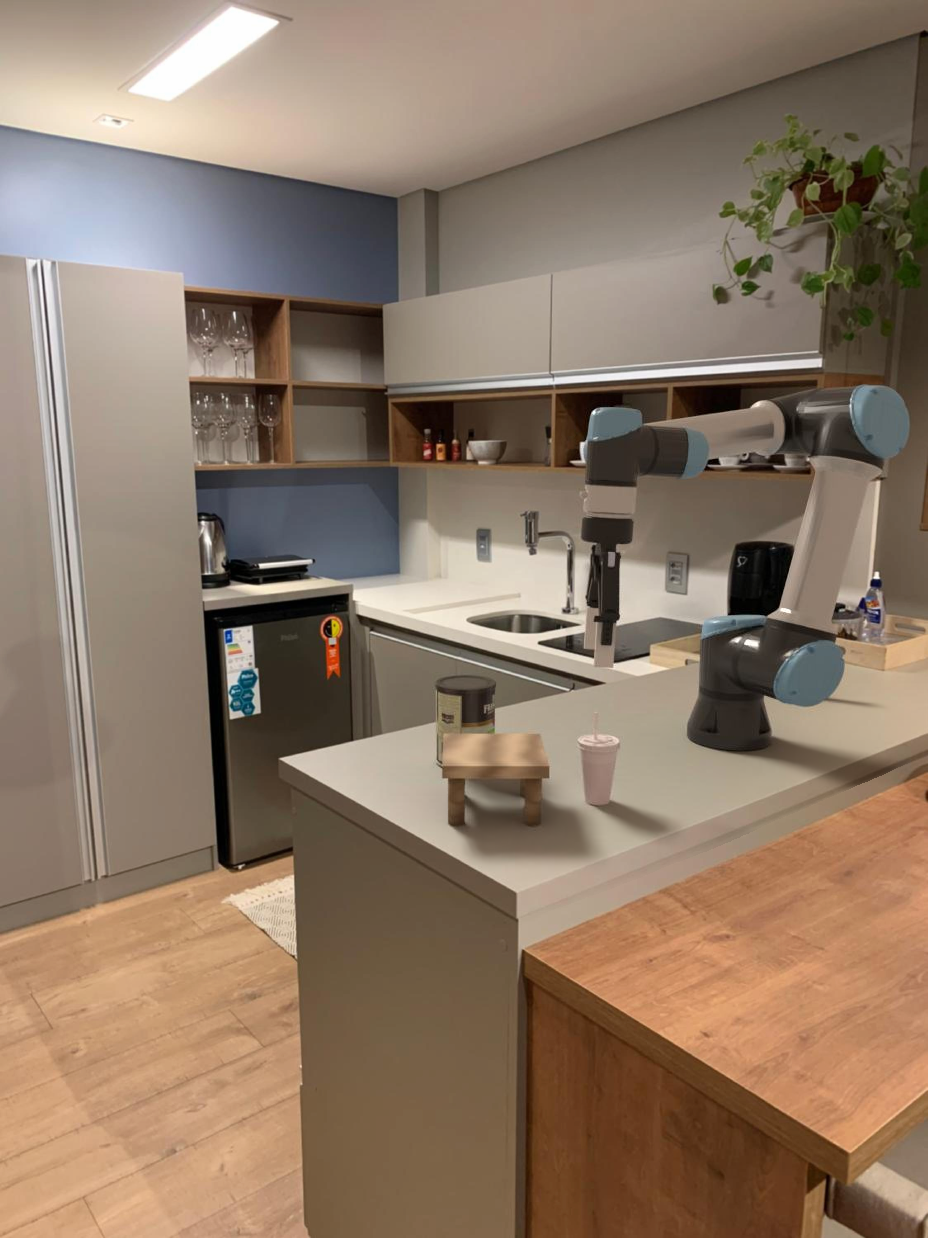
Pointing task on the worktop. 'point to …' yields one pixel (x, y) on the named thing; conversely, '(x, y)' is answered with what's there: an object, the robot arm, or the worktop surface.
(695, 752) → the worktop surface
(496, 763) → the tan square-topped part
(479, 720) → the coffee can
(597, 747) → the smoothie
